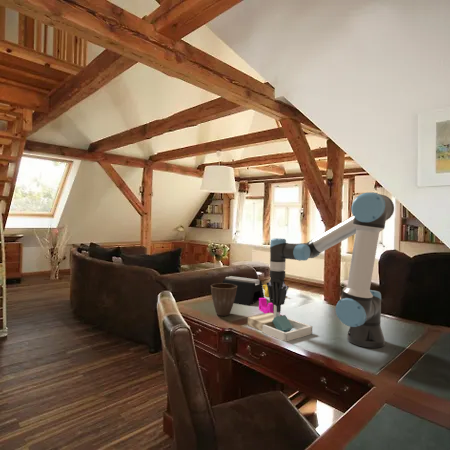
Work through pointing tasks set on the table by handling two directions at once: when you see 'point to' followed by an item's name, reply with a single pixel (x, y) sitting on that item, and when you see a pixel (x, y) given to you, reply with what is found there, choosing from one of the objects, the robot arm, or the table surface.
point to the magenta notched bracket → (265, 306)
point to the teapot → (266, 291)
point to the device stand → (246, 290)
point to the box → (287, 336)
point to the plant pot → (223, 297)
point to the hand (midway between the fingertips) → (276, 318)
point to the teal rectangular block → (282, 323)
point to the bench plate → (261, 321)
